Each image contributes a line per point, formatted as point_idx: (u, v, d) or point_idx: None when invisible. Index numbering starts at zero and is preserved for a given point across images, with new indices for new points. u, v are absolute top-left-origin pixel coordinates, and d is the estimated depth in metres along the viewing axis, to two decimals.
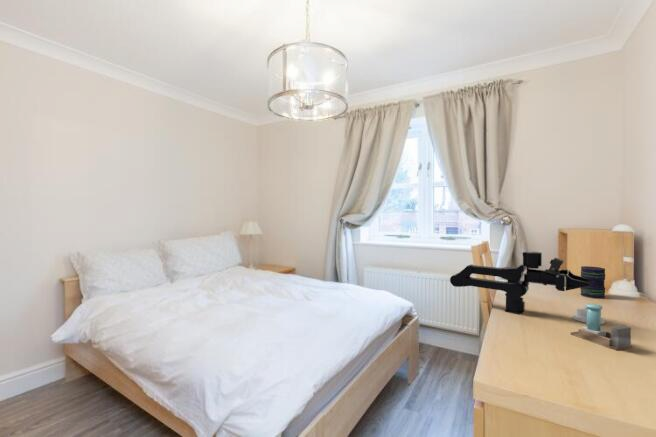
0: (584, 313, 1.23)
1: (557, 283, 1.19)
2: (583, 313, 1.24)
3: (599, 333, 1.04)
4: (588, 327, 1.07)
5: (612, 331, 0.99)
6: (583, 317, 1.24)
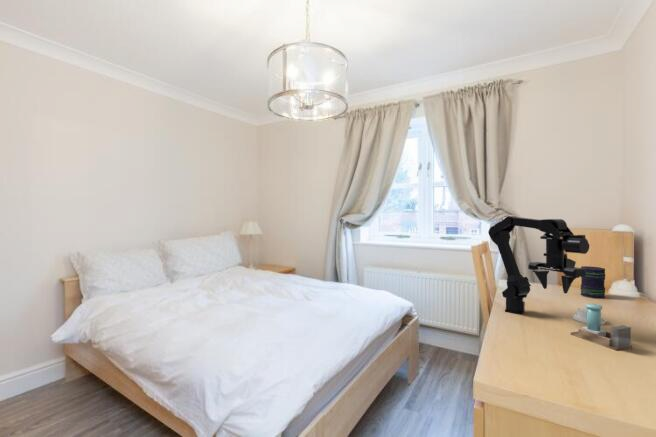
0: (584, 313, 1.23)
1: (579, 270, 1.12)
2: (583, 313, 1.23)
3: (599, 333, 1.04)
4: (588, 327, 1.07)
5: (612, 331, 0.99)
6: (583, 317, 1.23)
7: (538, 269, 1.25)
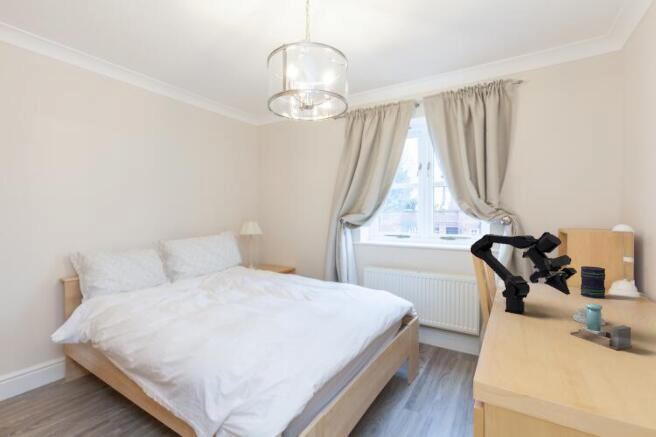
0: (584, 314, 1.22)
1: (532, 274, 1.19)
2: (583, 314, 1.23)
3: (599, 333, 1.04)
4: (588, 327, 1.07)
5: (612, 331, 0.99)
6: (583, 318, 1.23)
7: None
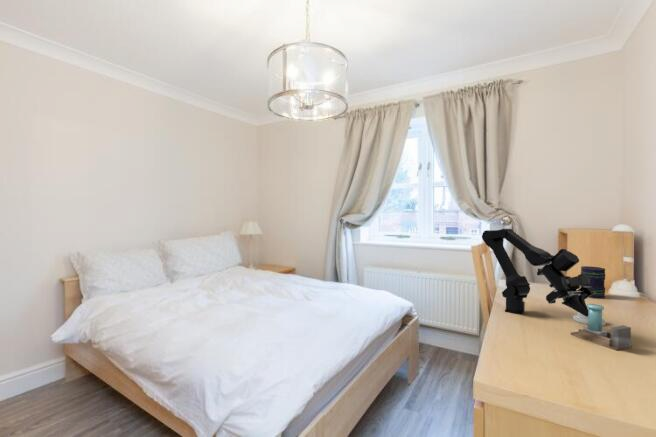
0: None
1: (549, 294, 1.12)
2: None
3: (600, 333, 1.04)
4: (589, 327, 1.06)
5: (612, 331, 0.99)
6: (583, 318, 1.22)
7: None
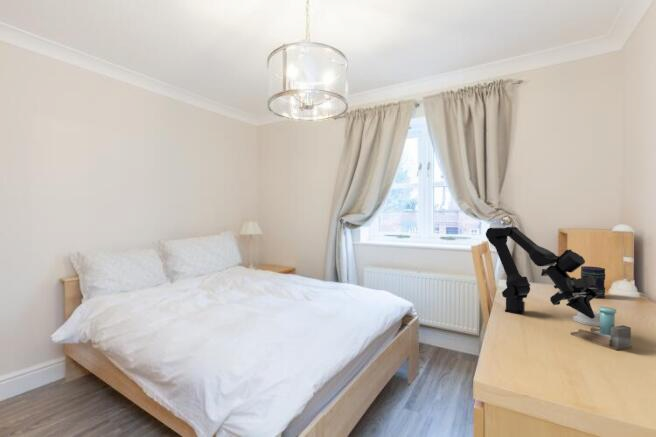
0: (584, 315, 1.22)
1: (554, 296, 1.11)
2: (583, 314, 1.22)
3: None
4: (601, 331, 1.03)
5: (612, 331, 0.99)
6: (583, 319, 1.22)
7: None
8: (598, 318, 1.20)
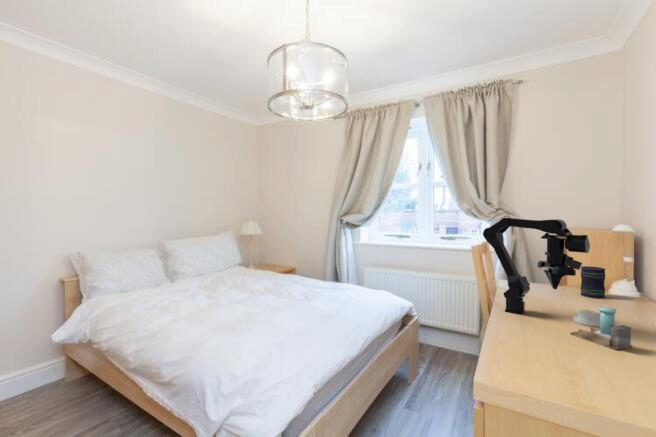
0: (584, 315, 1.21)
1: (565, 269, 1.15)
2: (583, 315, 1.21)
3: None
4: (601, 331, 1.03)
5: (612, 331, 0.99)
6: (583, 319, 1.21)
7: (547, 269, 1.26)
8: (598, 319, 1.19)
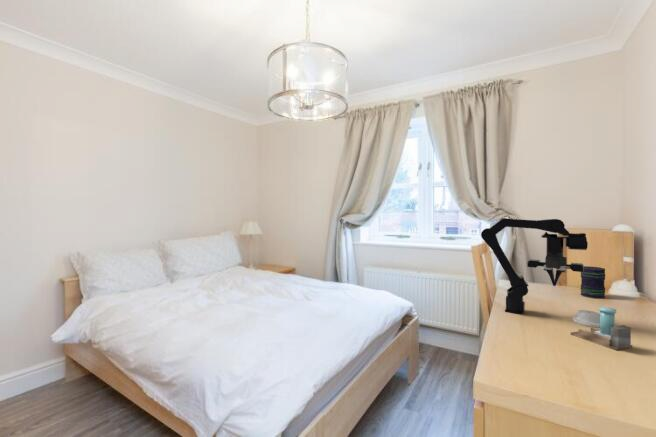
0: (584, 315, 1.20)
1: None
2: (582, 315, 1.21)
3: None
4: (601, 331, 1.03)
5: (612, 331, 0.99)
6: (583, 320, 1.21)
7: None
8: (598, 319, 1.18)
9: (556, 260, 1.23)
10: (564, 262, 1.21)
